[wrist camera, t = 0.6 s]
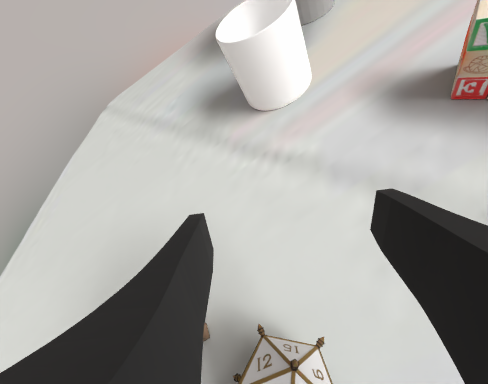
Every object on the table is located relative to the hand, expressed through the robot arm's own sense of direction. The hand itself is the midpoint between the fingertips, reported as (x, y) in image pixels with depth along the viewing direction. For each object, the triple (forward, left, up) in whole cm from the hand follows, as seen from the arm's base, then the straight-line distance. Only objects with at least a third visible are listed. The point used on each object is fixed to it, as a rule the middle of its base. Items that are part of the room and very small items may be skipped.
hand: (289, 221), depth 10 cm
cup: (+33, -10, -17) cm, 38 cm away
